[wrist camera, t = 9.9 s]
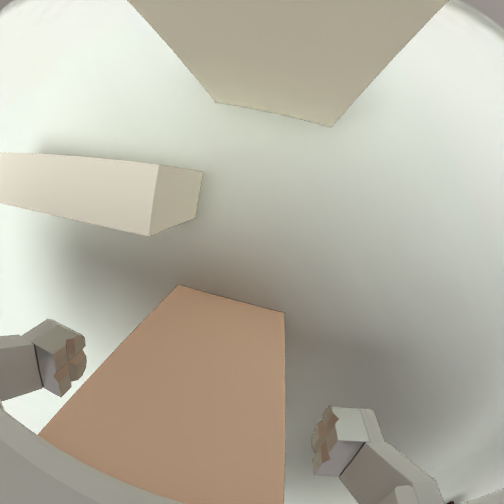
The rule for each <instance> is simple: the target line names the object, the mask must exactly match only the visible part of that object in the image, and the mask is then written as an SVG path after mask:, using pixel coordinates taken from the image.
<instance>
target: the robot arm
mask: <svg viewBox="0 0 504 504" xmlns="http://www.w3.org/2000/svg"><path fill="white" fill-rule="evenodd" d="M84 347H85V337H84V336H83V335H82V334H80V333H78V332H76V331H74V330H72V329H70V328H68V327H66V326H64V325H62V324H59V323H58V322H56V321H54V320H52V319H47V320H45V321H44V322H42V323H41V324H39V325H37V326H36V327H34V328H33V329H31V330H30V331H28V332H27V333H25V334H24V335H22V336H20V335H10V336H0V504H186V503H182V502H179V501H176V500H172V499H169V498H166V497H163V496H160V495H157V494H154V493H151V492H149V491H146V490H143V489H141V488H138V487H135V486H133V485H130V484H128V483H126V482H123V481H121V480H119V479H116V478H114V477H112V476H110V475H107V474H105V473H103V472H101V471H99V470H97V469H95V468H93V467H91V466H89V465H87V464H85V463H83V462H81V461H79V460H78V459H76V458H74V457H72V456H70V455H69V454H67V453H65V452H64V451H62V450H60V449H58V448H57V447H55V446H54V445H52V444H50V443H49V442H47V441H46V440H44V439H43V438H41V437H40V436H38V435H37V434H35V433H34V432H32V431H31V430H29V429H28V428H27V427H25V426H24V425H22V424H21V423H20V422H18V421H17V420H16V419H14V418H13V417H12V416H10V415H9V414H8V413H7V412H5V410H4V408H3V405H2V402H1V401H4V400H8V399H11V398H14V397H17V396H20V395H23V394H26V393H29V392H33V391H36V390H39V389H42V387H43V388H45V389H47V390H49V391H50V392H52V393H54V394H56V395H58V396H60V397H62V396H63V395H64V394H65V393H66V392H67V391H68V390H69V389H70V388H71V381H75V380H79V378H80V377H81V376H82V375H83V373H84V371H85V369H86V363H87V361H86V355H85V353H84V351H83V350H82V349H83V348H84ZM323 418H324V420H323V421H321V422H319V423H318V424H317V426H316V428H315V430H314V433H313V437H312V449H313V450H314V452H315V453H316V455H315V457H314V458H313V466H314V475H324V476H338V477H339V479H340V480H341V481H342V483H343V484H344V485H345V486H346V488H347V489H348V490H349V492H350V493H351V494H352V496H353V497H354V498H355V499H356V501H357V502H358V503H359V504H445V503H444V501H443V498H442V495H441V493H440V490H439V488H438V485H437V482H436V480H434V479H433V478H432V477H431V476H429V475H428V474H427V473H425V472H424V471H423V470H422V469H420V468H419V467H418V466H417V465H415V464H414V463H413V462H412V461H410V460H409V459H408V458H407V457H405V456H404V455H403V454H402V453H400V452H399V451H398V450H397V449H396V448H394V447H393V446H392V445H391V444H390V443H385V442H384V439H383V436H382V433H381V430H380V427H379V424H378V421H377V419H376V416H375V413H374V411H373V410H372V409H363V408H348V407H339V406H330V405H329V406H328V407H327V408H326V409H325V411H324V413H323ZM460 504H504V488H502V489H500V490H497V491H495V492H492V493H490V494H487V495H484V496H481V497H479V498H476V499H473V500H470V501H467V502H463V503H460Z"/></svg>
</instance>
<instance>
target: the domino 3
mask: <svg viewBox="0 0 504 504" xmlns="http://www.w3.org/2000/svg"><path fill="white" fill-rule="evenodd" d="M127 1H128V2H129V3H130V4H131V5H132V6H133V7H134V8H135V9H136V10H137V11H138V12H139V13H140V15H141V16H142V17H143V18H144V19H145V20H146V21H147V22H148V23H149V24H150V25H151V27H152V28H153V29H154V30H155V31H156V32H157V33H158V34H159V35H160V37H161V38H162V39H163V40H164V41H165V42H166V43H167V45H168V46H169V47H170V48H171V49H172V50H173V51H174V53H175V54H176V55H177V56H178V57H179V58H180V60H181V61H182V62H183V63H184V64H185V66H186V67H187V68H188V69H189V70H190V72H191V73H192V74H193V75H194V76H195V78H196V79H197V80H198V81H199V82H200V84H201V85H202V86H203V87H204V89H205V90H206V91H207V92H208V94H209V95H210V96H211V97H212V99H213V100H214V101H215V102H216V103H223V104H229V105H235V106H241V107H246V108H252V109H257V110H262V111H267V112H271V113H276V114H281V115H285V116H289V117H293V118H298V119H302V120H305V121H309V122H313V123H317V124H321V125H324V126H328V127H332V126H333V125H334V124H335V122H336V121H337V120H338V119H339V118H340V117H341V116H342V115H343V113H344V112H345V111H346V110H347V109H348V108H349V107H350V106H351V104H352V103H353V102H354V101H355V100H356V99H357V98H358V97H359V96H360V95H361V93H362V92H363V91H364V90H365V89H366V88H367V87H368V86H369V85H370V83H371V82H372V81H373V80H374V79H375V78H376V77H377V76H378V75H379V74H380V73H381V71H382V70H383V69H384V68H385V67H386V66H387V65H388V64H389V63H390V62H391V61H392V60H393V58H394V57H395V56H396V55H397V54H398V53H399V52H400V51H401V50H402V49H403V48H404V47H405V46H406V45H407V43H408V42H409V41H410V40H411V39H412V38H413V37H414V36H415V35H416V34H417V33H418V32H419V31H420V30H421V29H422V28H423V27H424V25H425V24H426V23H427V22H428V21H429V20H430V19H431V18H432V17H433V16H434V15H435V14H436V13H437V12H438V11H439V10H440V9H441V8H442V7H443V6H444V5H445V4H446V3H447V2H448V1H449V0H127Z"/></svg>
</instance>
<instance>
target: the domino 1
mask: <svg viewBox="0 0 504 504" xmlns="http://www.w3.org/2000/svg"><path fill="white" fill-rule="evenodd" d="M202 177H203V172H201V171H195V170H189V169H183V168H177V167H170V166H164V165H157V164H149V163H141V162H133V161H124V160H115V159H105V158H94V157H82V156H69V155H54V154H34V153H0V203H2V204H7V205H11V206H15V207H20V208H24V209H28V210H33V211H37V212H41V213H46V214H50V215H55V216H59V217H63V218H68V219H72V220H77V221H81V222H86V223H90V224H95V225H99V226H103V227H108V228H112V229H117V230H121V231H126V232H130V233H135V234H140V235H144V236H151V235H153V234H156V233H158V232H161V231H163V230H166V229H168V228H170V227H173V226H175V225H178V224H180V223H183V222H186V221H188V220H191V219H193V218H195V217H196V211H197V205H198V199H199V194H200V188H201V183H202Z"/></svg>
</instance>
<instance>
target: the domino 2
mask: <svg viewBox="0 0 504 504" xmlns="http://www.w3.org/2000/svg"><path fill="white" fill-rule="evenodd" d="M38 436H40V437H41V438H43V439H44V440H46V441H47V442H49V443H50V444H52V445H54V446H55V447H57V448H58V449H60V450H62V451H64V452H65V453H67V454H69V455H70V456H72V457H74V458H76V459H78V460H79V461H81V462H83V463H85V464H87V465H89V466H91V467H93V468H95V469H97V470H99V471H101V472H103V473H105V474H107V475H110V476H112V477H114V478H116V479H119V480H121V481H123V482H126V483H128V484H130V485H133V486H135V487H138V488H141V489H143V490H146V491H149V492H151V493H154V494H157V495H160V496H163V497H166V498H169V499H172V500H176V501H179V502H182V503H186V504H284V476H285V322H284V313H283V312H279V311H275V310H271V309H267V308H263V307H259V306H255V305H251V304H247V303H243V302H239V301H235V300H232V299H228V298H224V297H220V296H217V295H213V294H209V293H206V292H202V291H199V290H195V289H192V288H188V287H185V286H181V285H178V286H177V287H176V288H175V289H174V290H173V291H172V292H171V293H170V294H169V295H168V296H167V297H166V298H165V299H164V300H163V301H162V302H161V303H160V304H159V305H158V306H157V307H156V308H155V309H154V310H153V311H152V312H151V313H150V314H149V315H148V316H147V317H146V318H145V319H144V320H143V321H142V322H141V323H140V325H139V326H138V327H137V328H136V329H135V330H134V331H133V332H132V333H131V334H130V335H129V336H128V337H127V338H126V339H125V340H124V341H123V342H122V343H121V344H120V345H119V346H118V347H117V349H116V350H115V351H114V352H113V353H112V354H111V355H110V356H109V357H108V358H107V359H106V360H105V361H104V362H103V363H102V364H101V366H100V367H99V368H98V369H97V370H96V371H95V372H94V373H93V374H92V375H91V376H90V377H89V378H88V379H87V381H86V382H85V383H84V384H83V385H82V386H81V387H80V388H79V389H78V390H77V391H76V393H75V394H74V395H73V396H72V397H71V398H70V399H69V400H68V401H67V402H66V404H65V405H64V406H63V407H62V408H61V409H60V410H59V411H58V412H57V414H56V415H55V416H54V417H53V418H52V419H51V420H50V421H49V423H48V424H47V425H46V426H45V427H44V428H43V429H42V431H41V432H40V433H39V434H38Z"/></svg>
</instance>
